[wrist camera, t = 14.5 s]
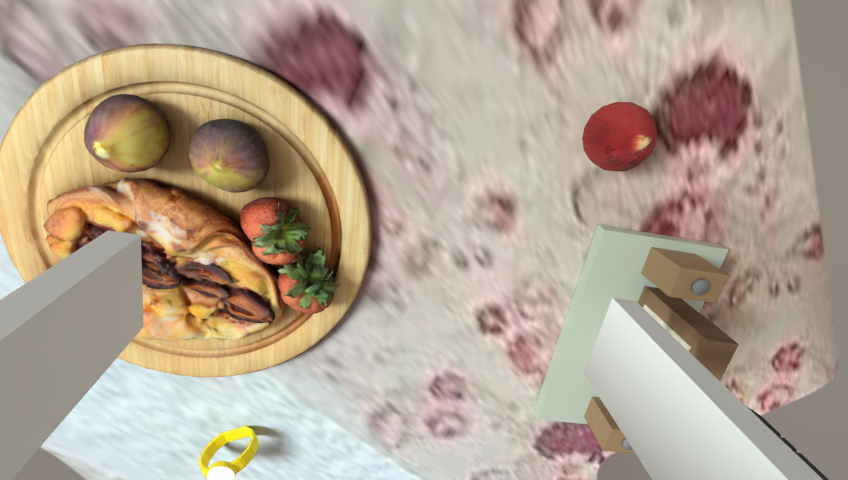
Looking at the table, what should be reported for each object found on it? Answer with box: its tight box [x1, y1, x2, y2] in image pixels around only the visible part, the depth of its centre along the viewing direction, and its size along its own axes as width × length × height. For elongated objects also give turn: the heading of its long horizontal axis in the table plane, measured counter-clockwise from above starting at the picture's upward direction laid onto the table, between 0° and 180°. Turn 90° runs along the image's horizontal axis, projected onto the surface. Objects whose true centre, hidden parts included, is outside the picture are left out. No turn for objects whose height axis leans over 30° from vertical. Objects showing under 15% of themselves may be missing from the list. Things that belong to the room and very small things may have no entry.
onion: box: [582, 102, 657, 171], centre depth 39 cm, size 6×6×8 cm
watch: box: [199, 426, 259, 480], centre depth 50 cm, size 6×3×6 cm, turn 106°
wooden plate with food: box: [0, 44, 372, 377], centre depth 40 cm, size 32×32×8 cm
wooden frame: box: [638, 286, 738, 381], centre depth 46 cm, size 13×3×10 cm, turn 169°
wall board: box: [534, 225, 729, 453], centre depth 49 cm, size 24×14×7 cm, turn 169°
